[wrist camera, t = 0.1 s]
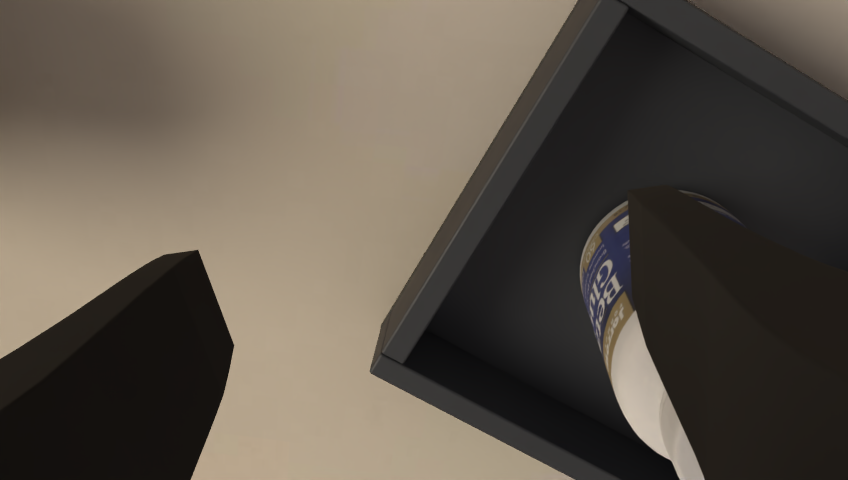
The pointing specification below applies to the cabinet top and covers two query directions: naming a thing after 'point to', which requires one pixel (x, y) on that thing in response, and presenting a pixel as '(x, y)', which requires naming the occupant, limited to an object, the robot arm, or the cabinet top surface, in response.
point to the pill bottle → (632, 339)
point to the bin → (589, 203)
